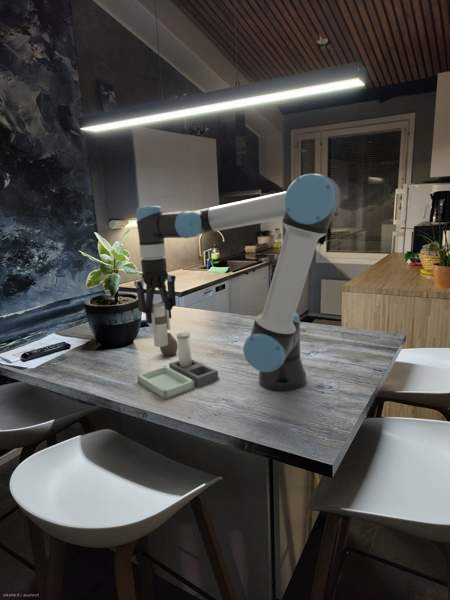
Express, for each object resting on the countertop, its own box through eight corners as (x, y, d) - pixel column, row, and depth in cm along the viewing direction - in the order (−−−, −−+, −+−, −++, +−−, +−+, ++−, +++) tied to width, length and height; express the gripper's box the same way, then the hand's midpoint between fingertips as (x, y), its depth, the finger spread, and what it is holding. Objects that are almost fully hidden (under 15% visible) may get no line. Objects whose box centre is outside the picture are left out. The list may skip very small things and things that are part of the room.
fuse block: (219, 378, 136) (219, 370, 136) (198, 386, 131) (198, 378, 130) (190, 364, 150) (189, 357, 149) (169, 371, 145) (169, 363, 144)
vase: (157, 356, 160) (155, 335, 158) (167, 350, 166) (165, 330, 164) (171, 358, 157) (169, 337, 155) (181, 352, 163) (179, 332, 161)
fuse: (194, 371, 144) (191, 334, 140) (184, 375, 141) (181, 337, 138) (187, 368, 147) (185, 331, 144) (177, 371, 144) (174, 334, 141)
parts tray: (194, 388, 130) (194, 380, 130) (165, 399, 124) (164, 391, 123) (166, 372, 144) (165, 365, 144) (138, 382, 138) (137, 374, 137)
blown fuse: (171, 344, 130) (167, 302, 127) (158, 347, 128) (154, 305, 125) (163, 341, 134) (160, 300, 131) (151, 344, 131) (147, 303, 128)
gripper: (171, 253, 133) (177, 322, 138) (121, 260, 122) (129, 334, 127) (184, 255, 127) (189, 326, 132) (132, 262, 116) (140, 339, 122)
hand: (160, 330), depth 130 cm, fingers closed on blown fuse, 4 cm apart
